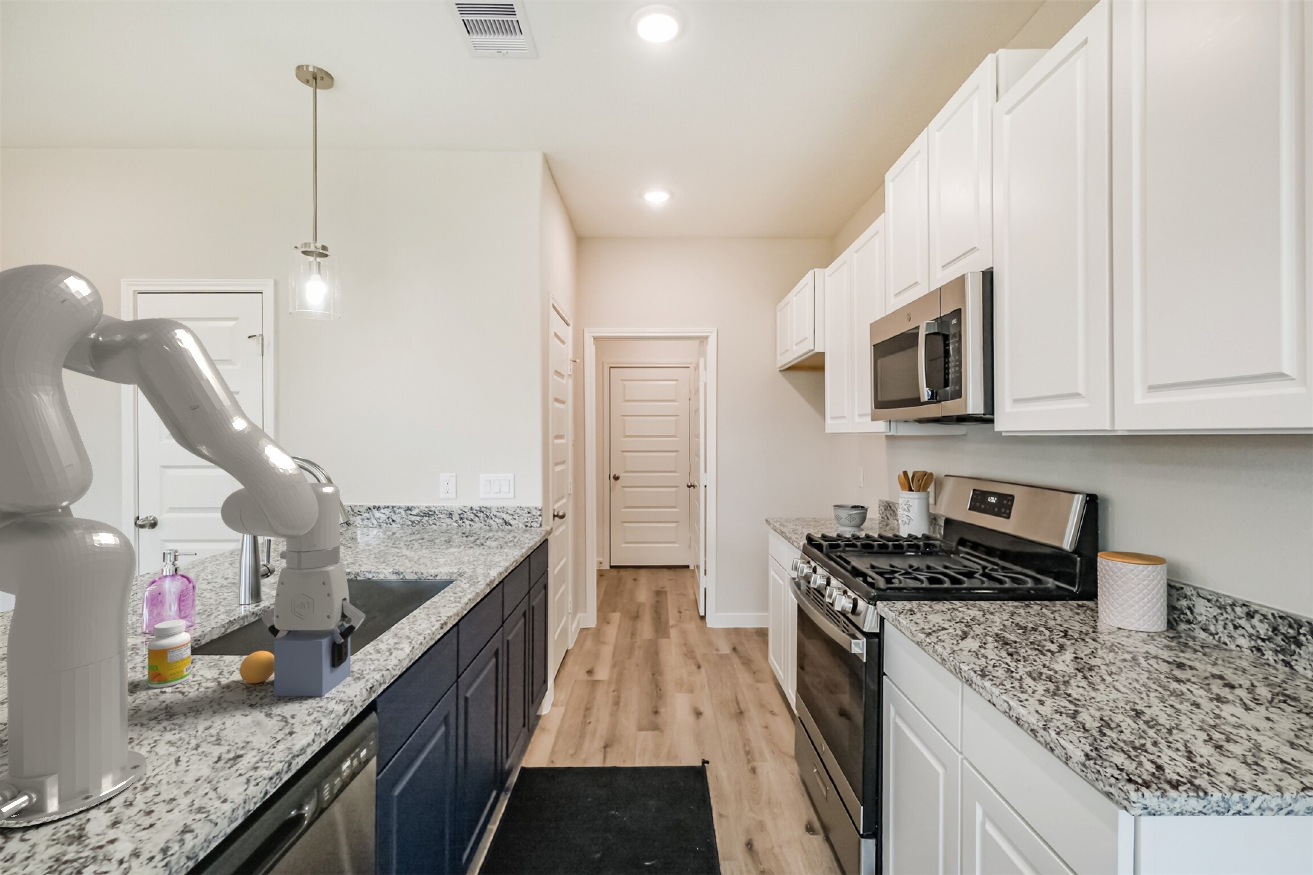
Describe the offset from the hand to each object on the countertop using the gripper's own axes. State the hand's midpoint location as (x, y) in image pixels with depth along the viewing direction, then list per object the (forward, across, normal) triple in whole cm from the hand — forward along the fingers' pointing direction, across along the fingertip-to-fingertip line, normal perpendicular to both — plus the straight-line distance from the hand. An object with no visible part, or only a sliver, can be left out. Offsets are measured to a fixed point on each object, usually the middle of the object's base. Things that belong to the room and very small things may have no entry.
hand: (314, 663), depth 90 cm
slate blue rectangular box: (+4, 0, 0) cm, 4 cm away
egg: (+1, -10, +1) cm, 10 cm away
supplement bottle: (+4, -25, +1) cm, 25 cm away
